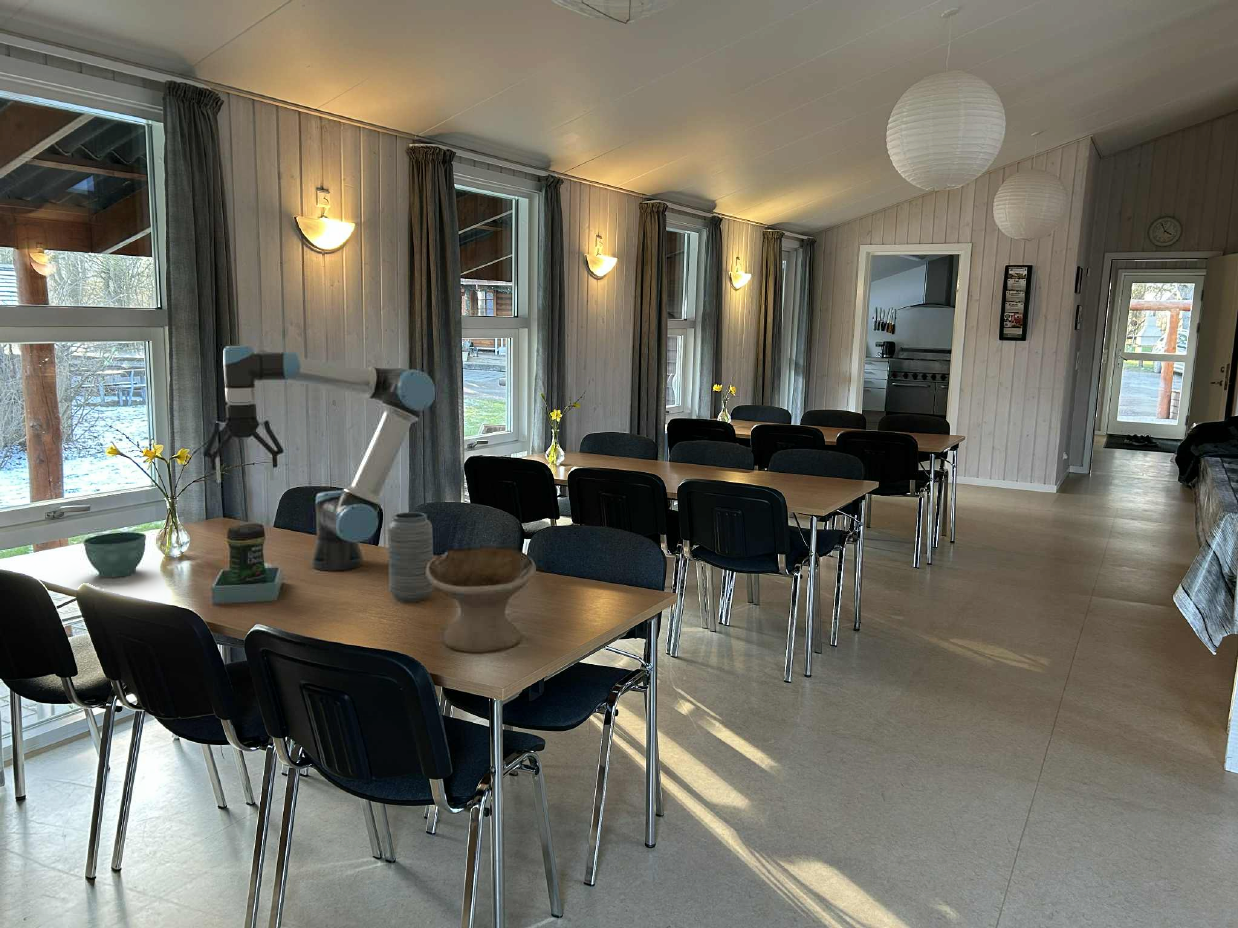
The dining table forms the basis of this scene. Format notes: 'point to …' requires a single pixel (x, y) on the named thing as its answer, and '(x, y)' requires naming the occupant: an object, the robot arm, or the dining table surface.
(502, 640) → the bowl
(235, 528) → the coffee jar
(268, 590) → the bin
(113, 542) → the green bowl
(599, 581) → the dining table surface
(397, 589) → the vase
